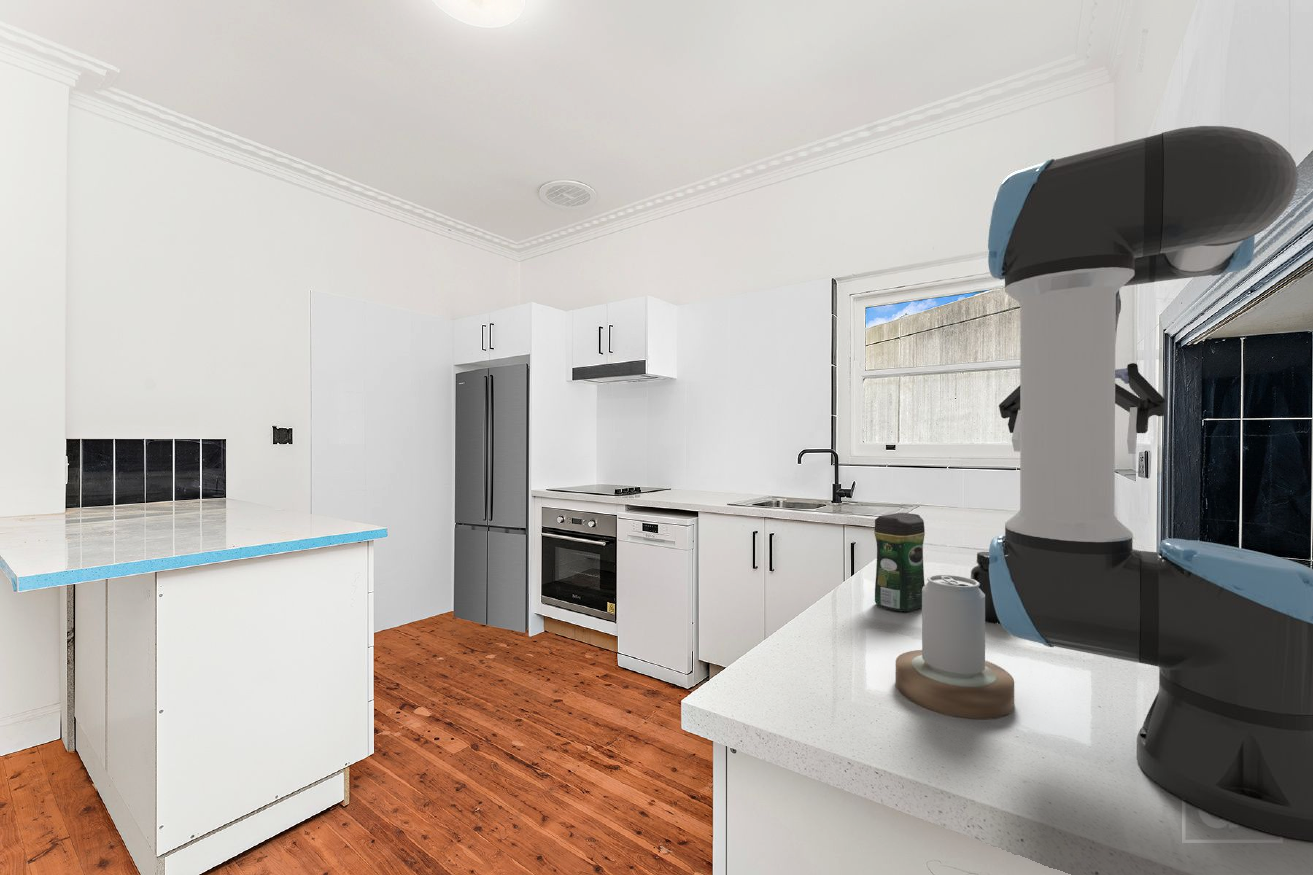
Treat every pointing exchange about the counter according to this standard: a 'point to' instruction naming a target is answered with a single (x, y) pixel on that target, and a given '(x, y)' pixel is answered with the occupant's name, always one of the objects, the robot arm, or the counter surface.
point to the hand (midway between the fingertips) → (1070, 446)
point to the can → (953, 626)
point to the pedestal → (955, 689)
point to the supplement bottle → (985, 585)
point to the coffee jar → (899, 561)
